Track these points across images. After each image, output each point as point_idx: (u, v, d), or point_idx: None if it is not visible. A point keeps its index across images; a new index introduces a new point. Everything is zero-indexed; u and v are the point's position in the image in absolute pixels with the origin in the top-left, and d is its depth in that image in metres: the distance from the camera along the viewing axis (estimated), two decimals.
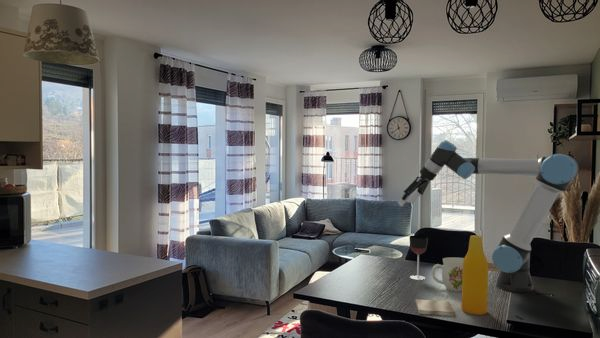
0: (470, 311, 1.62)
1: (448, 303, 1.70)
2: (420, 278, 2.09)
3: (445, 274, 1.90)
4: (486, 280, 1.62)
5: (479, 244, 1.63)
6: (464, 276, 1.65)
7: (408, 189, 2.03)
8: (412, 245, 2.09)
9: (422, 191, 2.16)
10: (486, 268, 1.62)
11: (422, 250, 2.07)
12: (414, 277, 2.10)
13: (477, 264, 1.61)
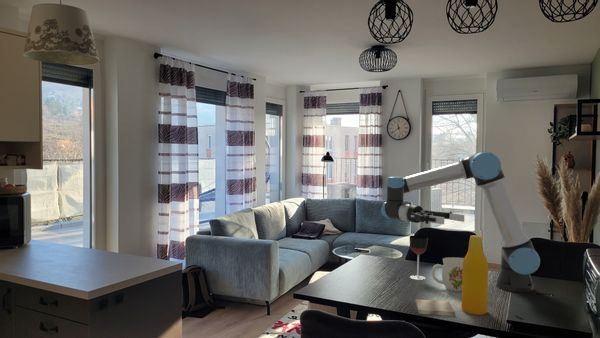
0: (470, 311, 1.62)
1: (448, 303, 1.70)
2: (420, 278, 2.09)
3: (445, 274, 1.90)
4: (486, 280, 1.62)
5: (479, 244, 1.63)
6: (464, 276, 1.65)
7: (419, 218, 1.75)
8: (412, 245, 2.09)
9: (447, 213, 1.84)
10: (486, 268, 1.62)
11: (422, 250, 2.07)
12: (414, 277, 2.10)
13: (477, 264, 1.61)
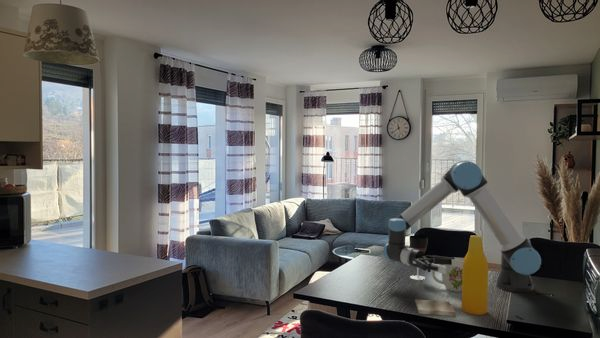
0: (470, 311, 1.62)
1: (448, 303, 1.70)
2: (420, 278, 2.09)
3: (445, 274, 1.90)
4: (486, 280, 1.62)
5: (479, 244, 1.63)
6: (464, 276, 1.65)
7: (421, 266, 1.74)
8: (412, 245, 2.09)
9: (449, 258, 1.83)
10: (486, 268, 1.62)
11: (422, 250, 2.07)
12: (414, 277, 2.10)
13: (477, 264, 1.61)
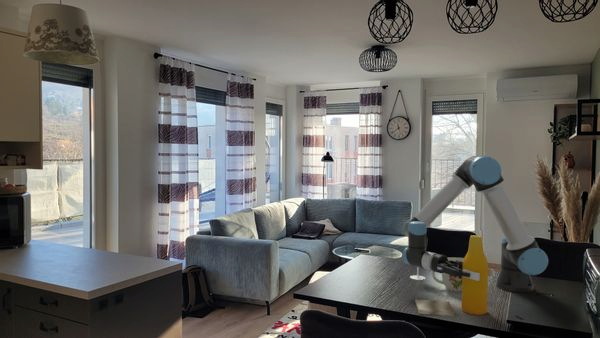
0: (470, 311, 1.63)
1: (448, 303, 1.70)
2: (420, 278, 2.09)
3: (445, 274, 1.90)
4: (486, 280, 1.62)
5: (479, 244, 1.63)
6: None
7: (451, 273, 1.65)
8: None
9: None
10: (486, 268, 1.62)
11: None
12: (414, 277, 2.10)
13: (477, 264, 1.61)
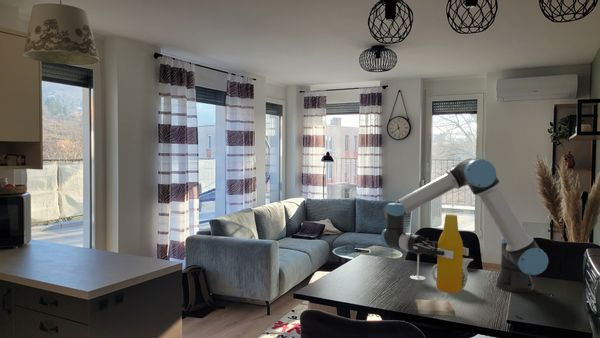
0: (444, 289, 1.63)
1: (448, 303, 1.70)
2: (420, 278, 2.09)
3: None
4: (460, 259, 1.63)
5: (454, 223, 1.63)
6: None
7: (426, 251, 1.65)
8: None
9: None
10: (460, 247, 1.62)
11: None
12: (414, 277, 2.10)
13: (451, 243, 1.62)
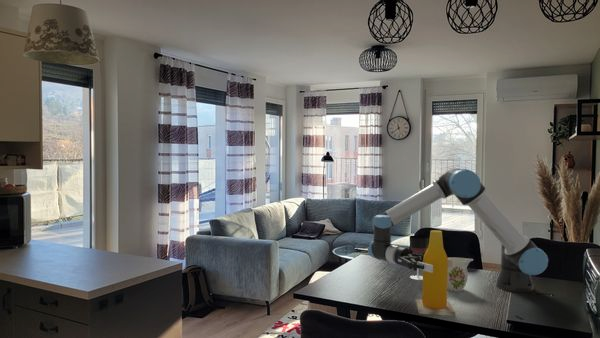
0: (429, 305, 1.64)
1: (448, 303, 1.70)
2: (420, 278, 2.09)
3: None
4: (445, 275, 1.63)
5: (439, 239, 1.64)
6: (424, 271, 1.66)
7: (407, 265, 1.66)
8: (412, 245, 2.09)
9: None
10: (445, 263, 1.63)
11: (422, 250, 2.07)
12: (414, 277, 2.10)
13: (436, 259, 1.62)
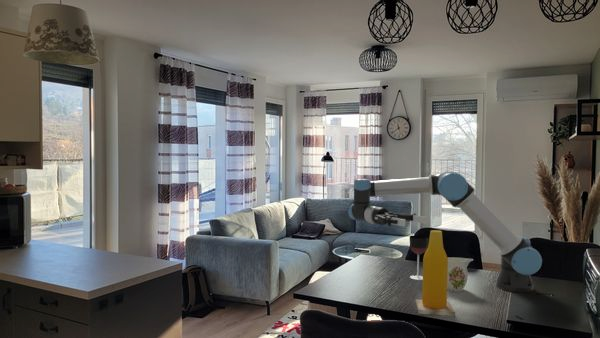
0: (429, 305, 1.64)
1: (448, 303, 1.70)
2: (420, 278, 2.09)
3: None
4: (445, 275, 1.63)
5: (439, 239, 1.64)
6: (424, 271, 1.66)
7: (382, 221, 1.76)
8: (412, 245, 2.09)
9: (411, 214, 1.85)
10: (445, 263, 1.63)
11: (422, 250, 2.07)
12: (414, 277, 2.10)
13: (436, 259, 1.63)
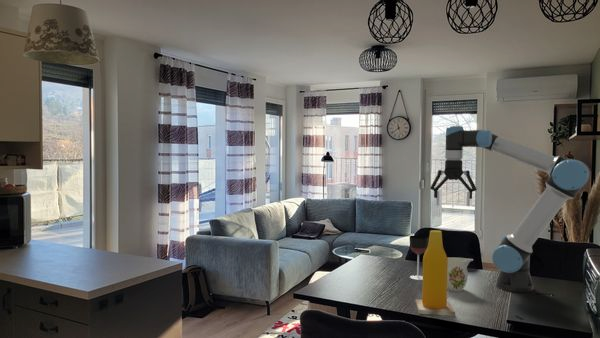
0: (429, 305, 1.64)
1: (448, 303, 1.70)
2: (420, 278, 2.09)
3: None
4: (445, 274, 1.64)
5: (438, 239, 1.64)
6: (424, 271, 1.66)
7: (432, 184, 2.01)
8: (412, 245, 2.09)
9: (470, 188, 1.97)
10: (445, 263, 1.63)
11: (422, 250, 2.07)
12: (414, 277, 2.10)
13: (435, 259, 1.63)
